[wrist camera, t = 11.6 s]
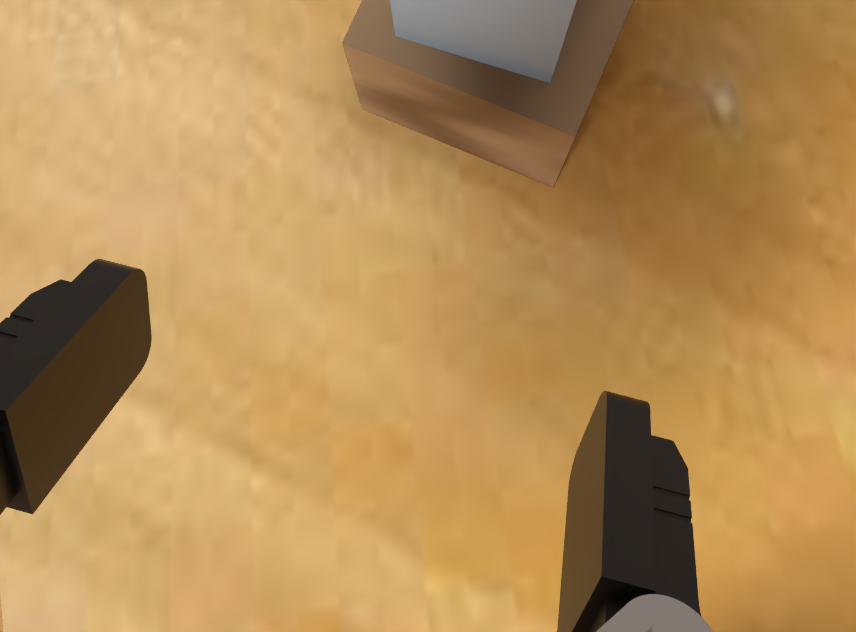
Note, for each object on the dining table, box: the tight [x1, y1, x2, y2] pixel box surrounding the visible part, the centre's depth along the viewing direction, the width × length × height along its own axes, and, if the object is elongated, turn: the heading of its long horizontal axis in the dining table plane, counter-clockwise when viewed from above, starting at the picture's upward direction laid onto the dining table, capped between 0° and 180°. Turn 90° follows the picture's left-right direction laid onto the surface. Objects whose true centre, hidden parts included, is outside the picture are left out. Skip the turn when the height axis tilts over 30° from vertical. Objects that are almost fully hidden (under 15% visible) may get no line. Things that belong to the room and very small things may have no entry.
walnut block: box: [342, 0, 634, 187], centre depth 24 cm, size 7×7×5 cm
